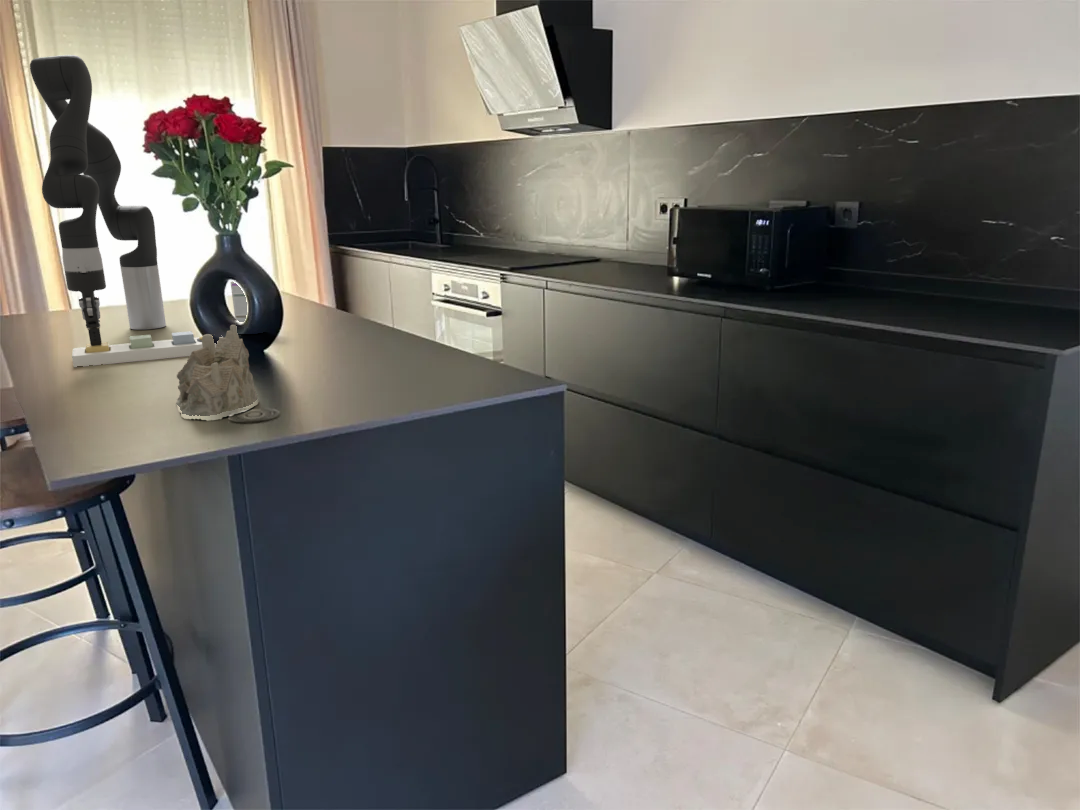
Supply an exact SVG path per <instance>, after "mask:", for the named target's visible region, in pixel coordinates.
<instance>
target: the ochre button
mask: <svg viewBox="0 0 1080 810" xmlns="http://www.w3.org/2000/svg"><path fill="white" fill-rule="evenodd" d="M108 345H109V341H105V342H102V344H101V345H96V346H92V345H91V344H90V343H86V344H85V347H86V352H87V353H92V352H103V351H109V346H108Z"/></svg>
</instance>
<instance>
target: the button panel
mask: <svg viewBox="0 0 1080 810" xmlns="http://www.w3.org/2000/svg"><path fill="white" fill-rule="evenodd" d="M202 337H203V335H202V336H197V337H195V336H194V343H190V344H179V345H173V339H162V340H161V339H160V340H152V346H153V347H147V348H136V349H131V343H130V342H129V343H128V342H127V343H118V344H115V343H114V344H108V346H109V351H103V352H92V353H87V352H86V346H83V347H82V346H81V347H72V348H73V349H72V352H71V353H72V355H71V358H72V359H71V360H72V364H73V368H78V367H77V366H83V367H90V366H89V365H93V366H101V364H103V365H111V364H122V363H132V362H133V363H134V362H141V361H154V360H162V359H172V358H184V357H189V356H190V355H191V353H192V352H193V351H195V350H198V349H201V348H203V346H202ZM214 344H215V348H216V343H214Z"/></svg>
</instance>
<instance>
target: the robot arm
mask: <svg viewBox="0 0 1080 810" xmlns="http://www.w3.org/2000/svg"><path fill="white" fill-rule="evenodd" d="M29 70H30V74H31V77H32V80H33V83H34V85H35V88H37V91H38V92H39V94H40V96H41V98H42V99H43V101H44V103H45V104H46V106H47V108H48V110H49V111H50V113H51V114H52V115H53V118H54V119H55V123H54V125H53V126H52V128H51V131H50V134H49V135H50V136H49V152H50V153H49V155H50V160H49V164H48V168H47V170H46V172H45V174H44V178H43V181H42V184H41V193H42V198H43V199H44V201H45V202H46V203H47V204H48V206H50V207H52V208H54V209H82V213H81V215H80V216H78V217H75V218H71V219H65V220H63V221H61V222H59V224H58V232H59V238H60V244H61V250H62V255H61V256H62V264H63V269H64V270H63V271H64V275H65V280H66V281H65V282H66V286H67V290H68V291H70V292H75V293H76V292H80V293H81V297H78V304H79V308H80V309H81V315H82V318H83V320H84V321H85V327H86V329H87V331H88V336H89V344H91V345H92V346H96V345H101V344H102V343H103V341H102V335H101V330H100V328H101V324H100V323H101V321H100V319H101V311H100V305H101V302H100V297H99V296H95V291H102V290H104V289H106V287H107V284H106V278H105V277H106V276H105V271H104V270H105V269H104V265H103V258H102V254H101V251H100V247H99V241H98V235H97V228H96V226H97V223H96V221H97V219H96V218H97V211H98V210H97V209H98V208H99V210H100V212H101V216H102V218H103V220H104V223H105V225H106V228H107V230H108V232H109V233H110V235H111V236H112V237H113V238H114V239H115V240H118V241H125V242H126V241H137V247H136V248H135V249H133V250H132V251H129V252H126V253H124V254H121V255H120V256H119V265H120V272H121V277H122V278H121V279H122V284H123V285H122V286H123V291H124V292H123V293H124V299H125V304H126V312H127V318H128V323H129V329H132V330H138V331H139V330H142V331H143V330H154V329H161V328H164V327H166V326H167V323H166V322H167V321H166V315H165V308H164V307H165V306H164V300H163V292H162V287H161V280H160V279H161V278H160V272H159V271H160V270H159V266H158V251H157V250H158V249H157V240H156V239H157V238H156V227H155V219H154V216H153V213H152V211H151V209H150V208H149V207H148V206H145V205H120V204H119V202H118V201H117V198H116V195H115V192H116V189H117V188H116V187H117V184H118V181H119V179H120V176H121V172H122V164H121V160H120V158H119V156H118V154H117V152H116V150H115V147H114V144H113V143H112V141H111V140H110V138H109V137H108V136H106V134H105V133H103V132H102V131H101V130H100V129H99V128H97V127H96V126H94V125H93V124H91V123H90V122H89V117H90V113H91V112H90V111H91V103H92V96H93V83H92V78H91V74H90V71H89V68H88V67H87V65H86V63H85V61H84V59H82V58H81V57H80V56H79V55H75V54H63V55H51V56H50V55H49V56H41V57H36V58H33V59H32V60H31V61H30V63H29ZM67 100H69V102H68V101H67Z"/></svg>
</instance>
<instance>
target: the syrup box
mask: <svg viewBox="0 0 1080 810" xmlns="http://www.w3.org/2000/svg"><path fill="white" fill-rule="evenodd" d="M233 281H234V280H233ZM233 281H230V282H229V283H230V291H231V296H232V305H233V312H234V313H233V314H234V319H235V318H236V319H237V320H238V321H239V322H244V321H245V319H246V315H247V302H246V297H245V295H244V293H243V291H242V290H241V288H240V287H239V286H238V285H237V284H236V283H234V282H233Z"/></svg>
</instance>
